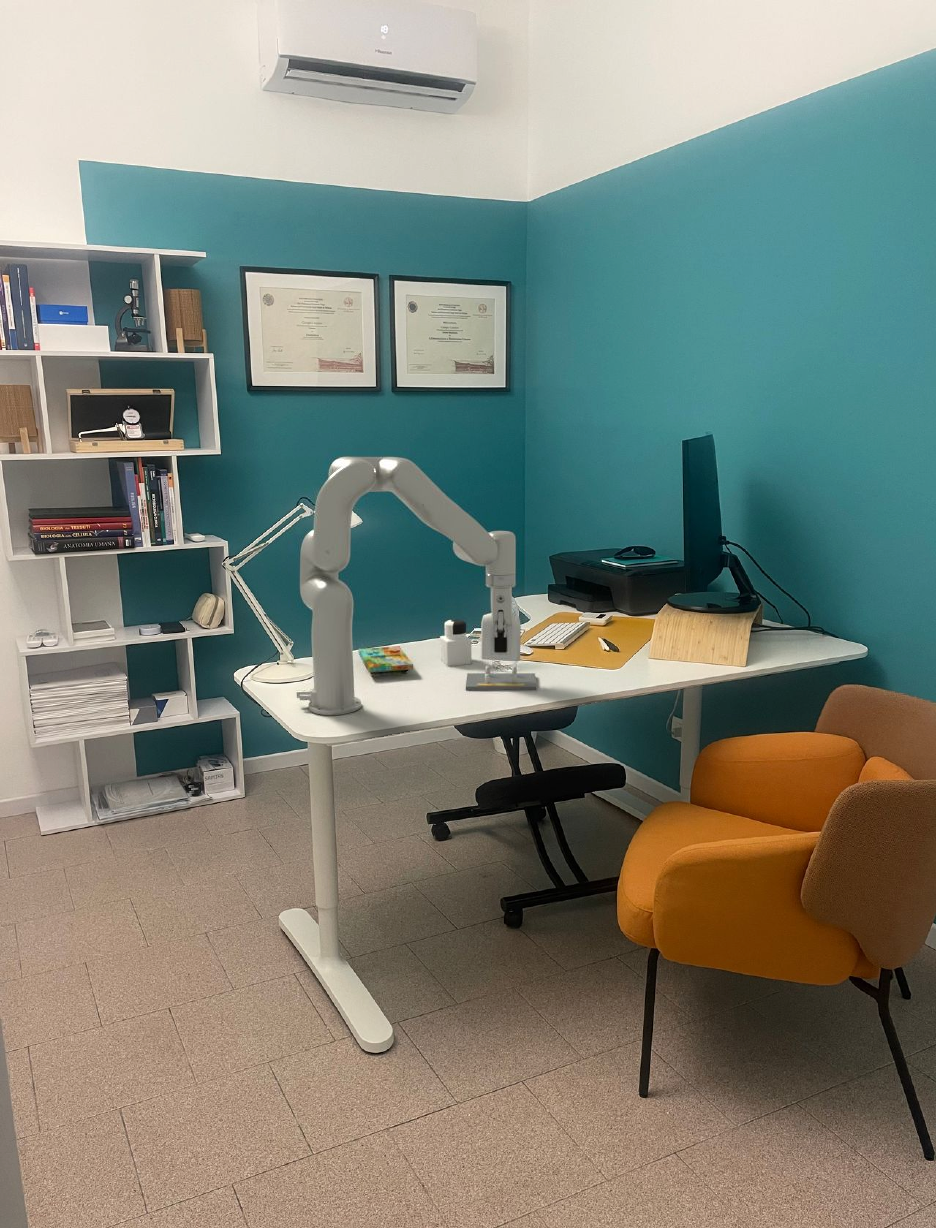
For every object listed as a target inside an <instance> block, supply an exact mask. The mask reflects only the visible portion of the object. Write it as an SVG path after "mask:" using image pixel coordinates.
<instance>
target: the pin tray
mask: <svg viewBox="0 0 936 1228" xmlns="http://www.w3.org/2000/svg"><path fill="white" fill-rule="evenodd" d="M517 670H518V668H517V666H516V665H513V666H512V667H511V672H509V673H505V672H503V673H502V672H501V673H500V672H497V673H496V672H495V673H493V672H492V673H491V666H490V665H486V666H485V672H481V673H480V672H477V673H476V672H474V673H472V672H470V673H466V680H465V691H538V690H537V688H538V687H537V686H538V685H537V679H536V673H535V672H533V673H526V672H525V673H523V672H522V673H521V672H519V673H518V672H517Z"/></svg>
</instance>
